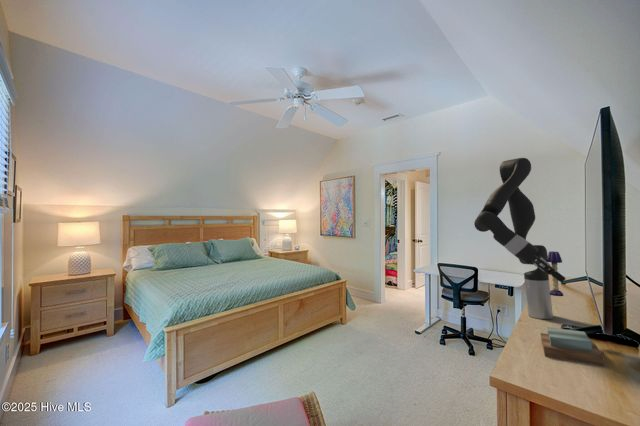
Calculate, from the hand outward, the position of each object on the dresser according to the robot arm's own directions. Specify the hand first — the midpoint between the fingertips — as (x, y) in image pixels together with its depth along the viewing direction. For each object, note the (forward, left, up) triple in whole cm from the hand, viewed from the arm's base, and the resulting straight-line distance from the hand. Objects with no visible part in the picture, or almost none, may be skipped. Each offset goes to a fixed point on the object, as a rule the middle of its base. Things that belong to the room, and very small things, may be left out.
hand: (563, 279), depth 106 cm
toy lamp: (0, -2, -6) cm, 6 cm away
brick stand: (+15, -2, -22) cm, 26 cm away
